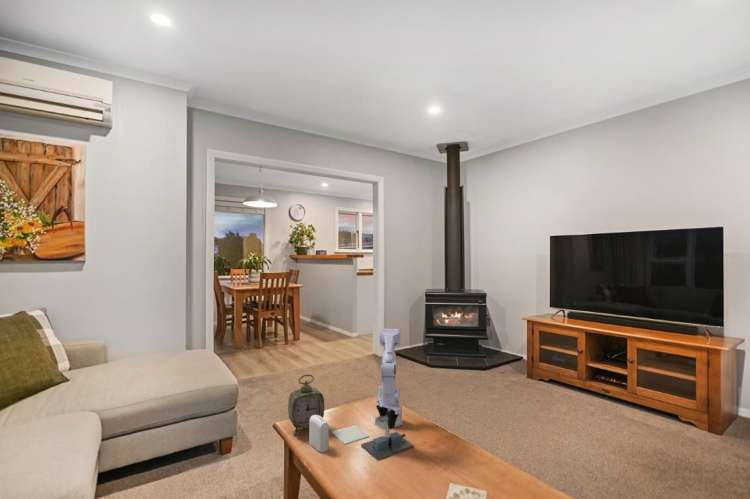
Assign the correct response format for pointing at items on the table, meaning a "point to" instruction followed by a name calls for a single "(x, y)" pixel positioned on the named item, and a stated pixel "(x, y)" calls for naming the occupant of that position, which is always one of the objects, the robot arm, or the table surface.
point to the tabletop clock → (305, 405)
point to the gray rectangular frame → (385, 421)
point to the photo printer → (318, 433)
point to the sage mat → (350, 434)
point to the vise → (387, 445)
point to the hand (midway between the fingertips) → (387, 425)
